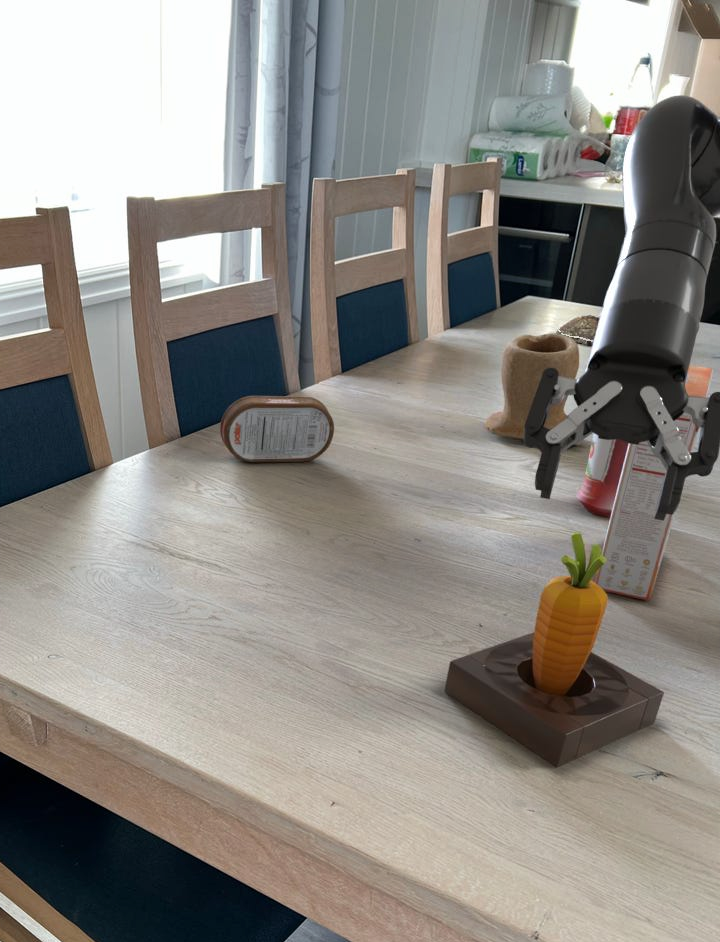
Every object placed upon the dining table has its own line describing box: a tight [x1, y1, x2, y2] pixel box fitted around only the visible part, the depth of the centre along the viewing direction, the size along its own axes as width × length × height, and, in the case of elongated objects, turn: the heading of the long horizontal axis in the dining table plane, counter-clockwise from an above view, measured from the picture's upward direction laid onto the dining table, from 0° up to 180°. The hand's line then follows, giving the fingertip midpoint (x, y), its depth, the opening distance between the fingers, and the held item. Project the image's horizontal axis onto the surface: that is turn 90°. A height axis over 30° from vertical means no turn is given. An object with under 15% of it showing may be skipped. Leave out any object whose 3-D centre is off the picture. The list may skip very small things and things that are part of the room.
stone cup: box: [484, 333, 585, 446], centre depth 140 cm, size 15×12×15 cm
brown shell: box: [555, 314, 599, 347], centre depth 208 cm, size 13×12×5 cm
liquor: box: [576, 433, 629, 517], centre depth 114 cm, size 7×7×28 cm
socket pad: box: [444, 631, 665, 768], centre depth 79 cm, size 12×12×3 cm
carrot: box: [533, 531, 609, 697], centre depth 76 cm, size 5×5×15 cm
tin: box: [219, 395, 335, 463], centre depth 127 cm, size 15×3×8 cm, turn 102°
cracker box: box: [594, 364, 714, 601], centre depth 100 cm, size 14×6×21 cm, turn 154°
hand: (602, 505), depth 75 cm, fingers open, 8 cm apart
